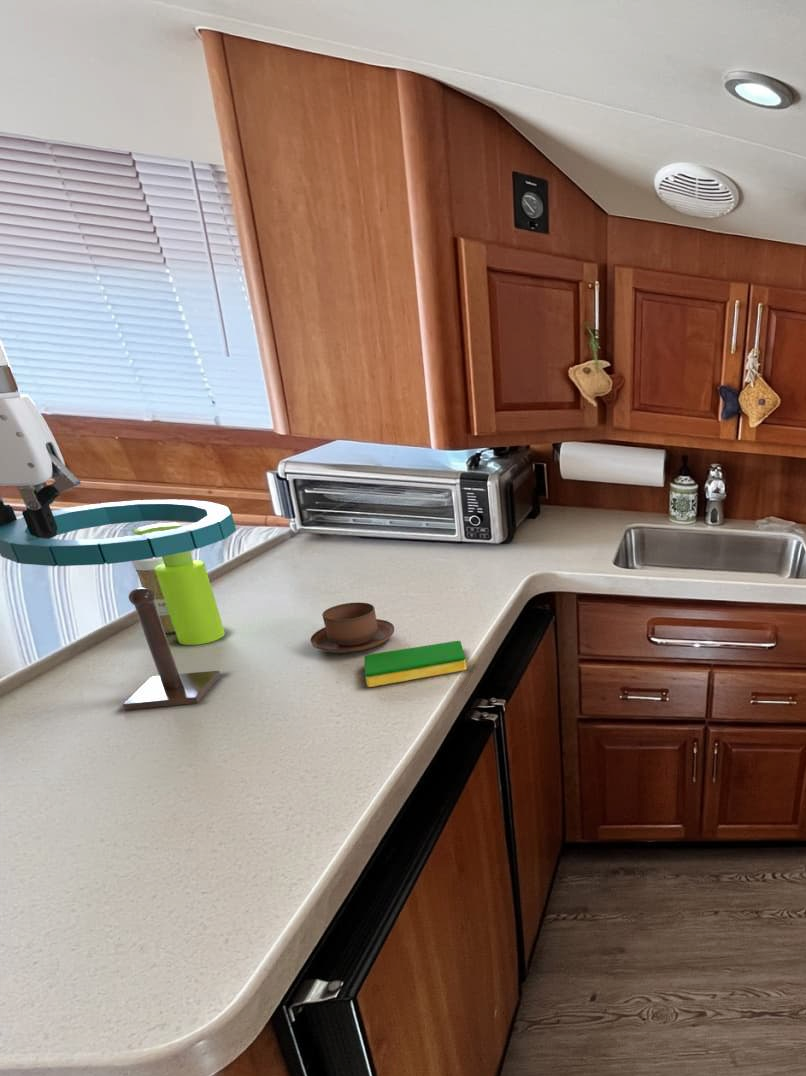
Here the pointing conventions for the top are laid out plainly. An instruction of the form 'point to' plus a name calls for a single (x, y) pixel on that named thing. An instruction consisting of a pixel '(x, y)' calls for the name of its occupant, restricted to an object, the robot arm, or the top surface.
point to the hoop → (207, 530)
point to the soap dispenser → (187, 594)
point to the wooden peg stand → (164, 664)
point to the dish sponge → (414, 663)
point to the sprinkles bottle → (154, 588)
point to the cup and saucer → (351, 629)
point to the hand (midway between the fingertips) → (28, 538)
